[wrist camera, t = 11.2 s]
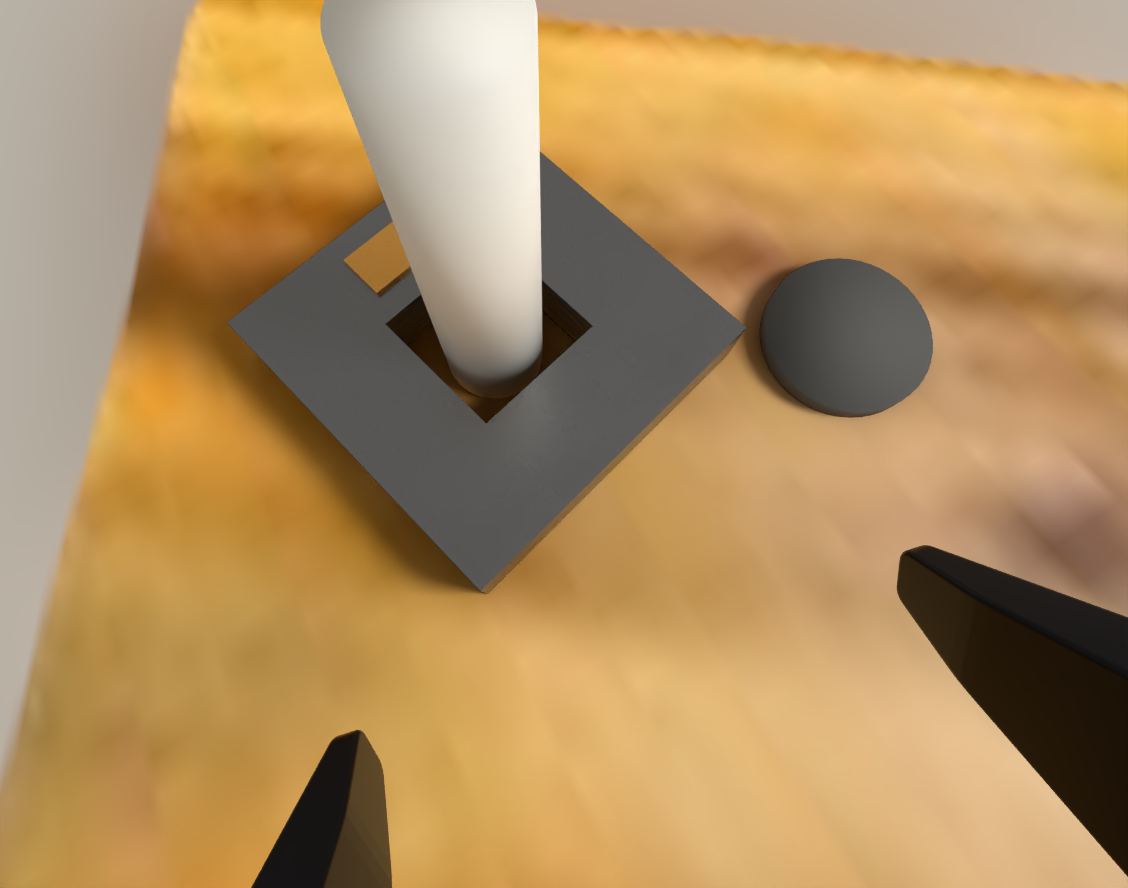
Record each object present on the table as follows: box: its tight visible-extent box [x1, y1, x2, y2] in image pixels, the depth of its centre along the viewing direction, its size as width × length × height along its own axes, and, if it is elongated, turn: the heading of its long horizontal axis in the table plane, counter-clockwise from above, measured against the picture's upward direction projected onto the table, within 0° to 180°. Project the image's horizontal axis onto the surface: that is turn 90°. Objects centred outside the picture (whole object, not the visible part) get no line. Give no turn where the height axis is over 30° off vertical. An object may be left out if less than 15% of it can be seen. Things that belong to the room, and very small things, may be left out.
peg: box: [321, 0, 543, 398], centre depth 19 cm, size 4×4×15 cm
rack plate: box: [227, 152, 746, 594], centre depth 24 cm, size 14×14×3 cm
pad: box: [760, 259, 933, 417], centre depth 26 cm, size 7×7×1 cm
